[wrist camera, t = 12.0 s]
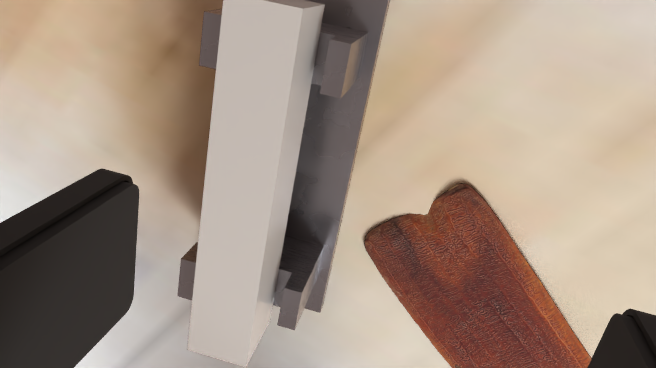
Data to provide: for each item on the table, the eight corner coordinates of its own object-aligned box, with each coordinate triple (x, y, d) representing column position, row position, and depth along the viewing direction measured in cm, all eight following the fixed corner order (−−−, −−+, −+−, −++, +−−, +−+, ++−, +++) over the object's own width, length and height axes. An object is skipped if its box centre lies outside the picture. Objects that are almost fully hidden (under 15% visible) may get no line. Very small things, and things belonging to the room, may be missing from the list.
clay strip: (324, 4, 30) (303, 8, 26) (269, 321, 39) (245, 367, 34) (257, -10, 31) (224, -9, 26) (217, 306, 39) (187, 349, 35)
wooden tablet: (356, 235, 42) (352, 245, 41) (468, 170, 39) (469, 178, 37) (532, 474, 47) (535, 491, 45) (647, 436, 43) (655, 453, 42)
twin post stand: (392, -14, 35) (378, -12, 28) (323, 304, 44) (298, 368, 37) (246, -44, 36) (195, -50, 29) (209, 272, 46) (163, 327, 38)
